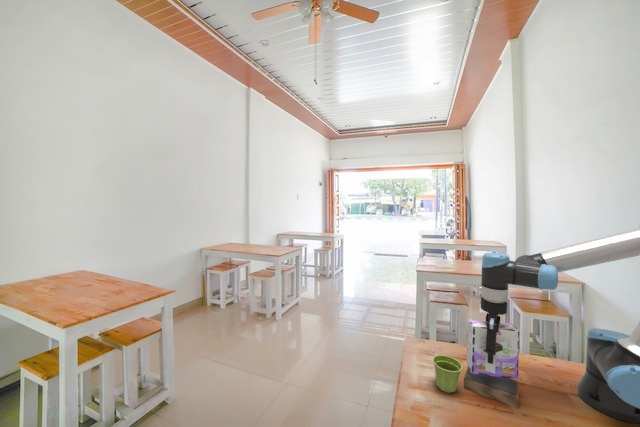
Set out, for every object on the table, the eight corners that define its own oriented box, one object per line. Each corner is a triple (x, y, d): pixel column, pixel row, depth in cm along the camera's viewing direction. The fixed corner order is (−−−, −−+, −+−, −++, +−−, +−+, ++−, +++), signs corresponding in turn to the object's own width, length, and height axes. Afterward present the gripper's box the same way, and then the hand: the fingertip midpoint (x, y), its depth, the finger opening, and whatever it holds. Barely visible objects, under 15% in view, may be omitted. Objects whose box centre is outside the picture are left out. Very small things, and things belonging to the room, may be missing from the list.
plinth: (518, 392, 89) (518, 380, 89) (518, 408, 82) (518, 396, 82) (467, 374, 98) (468, 364, 98) (463, 387, 91) (464, 376, 91)
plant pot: (463, 384, 93) (463, 360, 93) (460, 401, 85) (461, 374, 85) (434, 374, 98) (435, 352, 98) (429, 389, 90) (430, 364, 90)
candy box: (509, 369, 91) (511, 322, 91) (518, 380, 86) (520, 330, 85) (465, 363, 94) (467, 318, 94) (471, 373, 89) (473, 325, 88)
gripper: (484, 289, 99) (481, 348, 100) (477, 305, 83) (474, 376, 84) (508, 293, 95) (505, 355, 96) (506, 311, 79) (503, 386, 80)
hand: (491, 365), depth 90 cm, fingers closed on candy box, 8 cm apart
